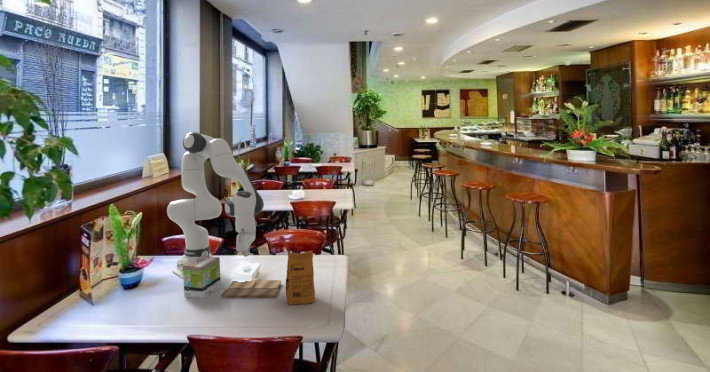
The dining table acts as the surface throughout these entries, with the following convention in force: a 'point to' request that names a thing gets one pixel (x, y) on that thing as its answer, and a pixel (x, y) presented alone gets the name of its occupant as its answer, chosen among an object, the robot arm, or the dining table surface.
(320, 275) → the dining table surface
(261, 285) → the plank
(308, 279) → the coffee package
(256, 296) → the floor strip
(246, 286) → the plank
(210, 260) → the tea box
